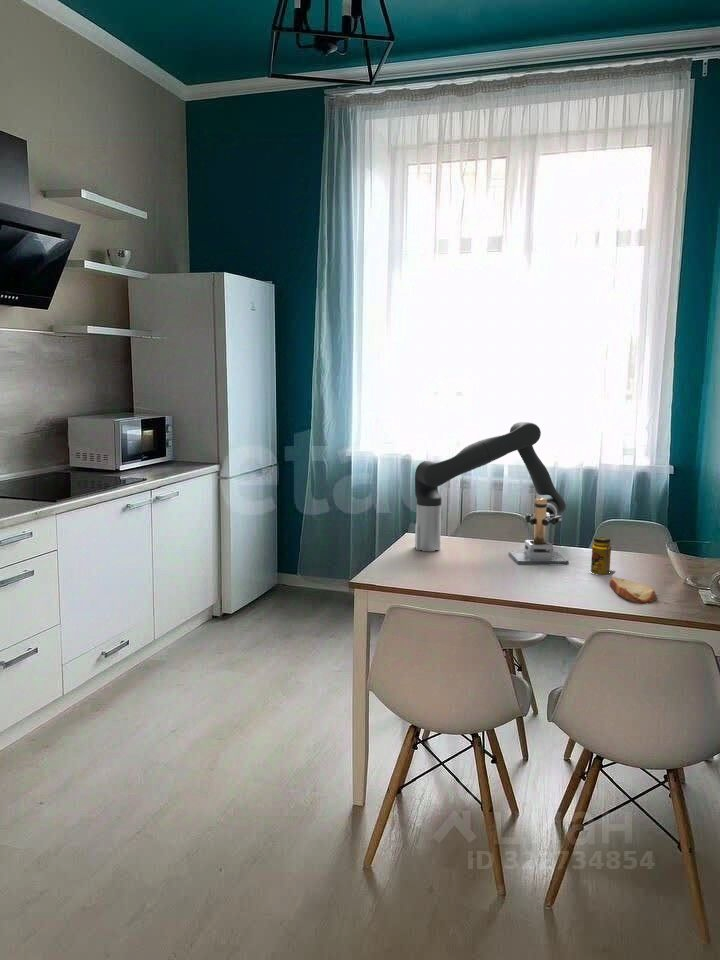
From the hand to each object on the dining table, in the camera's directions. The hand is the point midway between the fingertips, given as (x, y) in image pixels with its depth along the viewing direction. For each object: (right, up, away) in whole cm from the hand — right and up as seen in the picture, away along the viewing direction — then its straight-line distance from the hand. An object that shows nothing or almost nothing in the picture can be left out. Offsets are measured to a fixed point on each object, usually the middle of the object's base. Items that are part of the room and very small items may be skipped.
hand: (538, 522), depth 261 cm
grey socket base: (+1, -14, +5) cm, 14 cm away
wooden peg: (+1, -10, +4) cm, 10 cm away
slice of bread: (+20, -20, -34) cm, 44 cm away
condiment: (+18, -17, -12) cm, 27 cm away
